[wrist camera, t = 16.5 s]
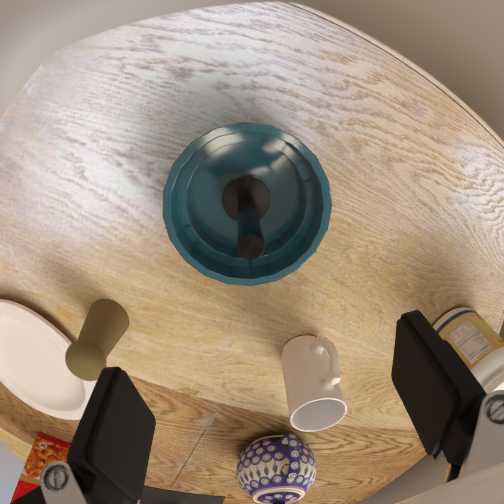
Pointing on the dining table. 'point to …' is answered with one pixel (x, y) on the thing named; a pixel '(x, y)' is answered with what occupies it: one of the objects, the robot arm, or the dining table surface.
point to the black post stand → (247, 213)
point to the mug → (312, 383)
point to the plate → (39, 364)
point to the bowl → (272, 223)
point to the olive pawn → (96, 339)
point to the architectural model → (176, 497)
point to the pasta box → (40, 462)
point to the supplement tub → (475, 345)
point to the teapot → (276, 469)
